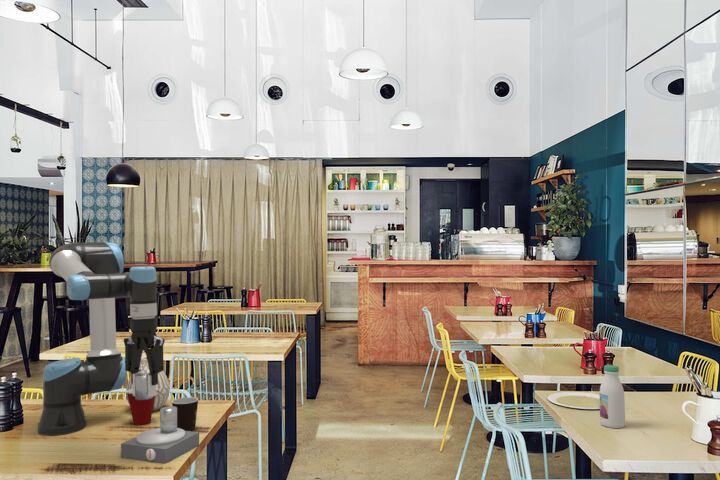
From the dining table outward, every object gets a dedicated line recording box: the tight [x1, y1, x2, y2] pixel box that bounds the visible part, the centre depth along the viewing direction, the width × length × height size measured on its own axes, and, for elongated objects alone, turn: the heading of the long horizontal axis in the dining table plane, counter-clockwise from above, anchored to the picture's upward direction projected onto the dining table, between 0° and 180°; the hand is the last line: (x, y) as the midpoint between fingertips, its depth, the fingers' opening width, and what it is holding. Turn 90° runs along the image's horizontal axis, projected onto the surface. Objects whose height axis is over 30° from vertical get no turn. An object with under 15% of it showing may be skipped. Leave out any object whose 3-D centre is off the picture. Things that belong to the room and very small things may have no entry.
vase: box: [125, 356, 171, 412], centre depth 221 cm, size 16×16×20 cm
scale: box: [120, 427, 200, 464], centre depth 174 cm, size 16×17×5 cm
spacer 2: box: [159, 405, 177, 434], centre depth 177 cm, size 5×5×7 cm
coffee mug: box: [171, 396, 199, 432], centre depth 196 cm, size 12×9×10 cm
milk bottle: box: [599, 364, 626, 429], centre depth 193 cm, size 8×8×20 cm
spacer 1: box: [135, 373, 153, 400], centre depth 171 cm, size 5×5×7 cm
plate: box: [547, 391, 600, 411], centre depth 223 cm, size 25×25×1 cm
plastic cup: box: [125, 388, 158, 426], centre depth 204 cm, size 11×11×12 cm
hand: (144, 395), depth 171 cm, fingers closed on spacer 1, 5 cm apart
